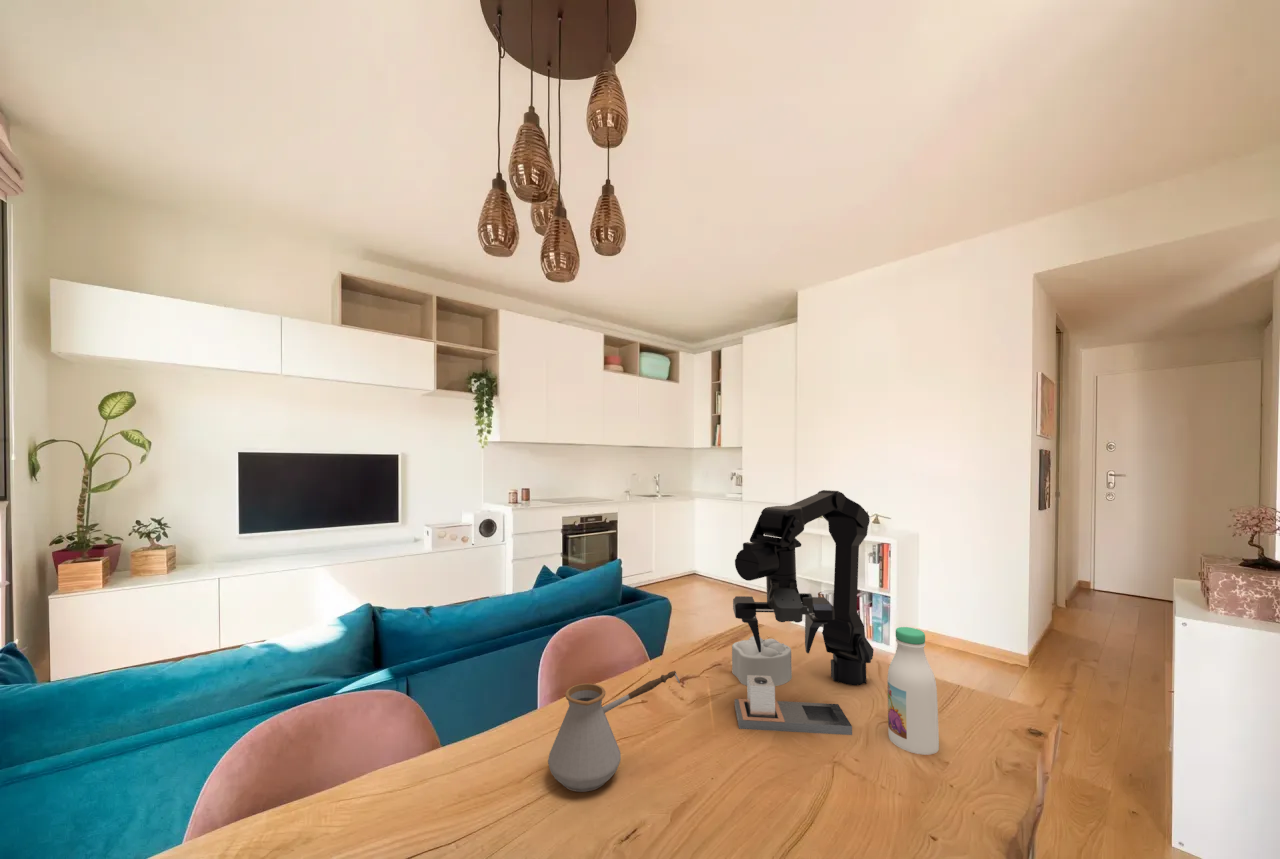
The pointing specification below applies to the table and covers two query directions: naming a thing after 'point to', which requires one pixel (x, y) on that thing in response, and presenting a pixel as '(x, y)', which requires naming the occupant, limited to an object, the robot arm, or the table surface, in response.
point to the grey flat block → (797, 718)
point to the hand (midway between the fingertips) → (783, 652)
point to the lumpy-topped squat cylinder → (762, 660)
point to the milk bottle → (912, 695)
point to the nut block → (760, 696)
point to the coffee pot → (589, 737)
